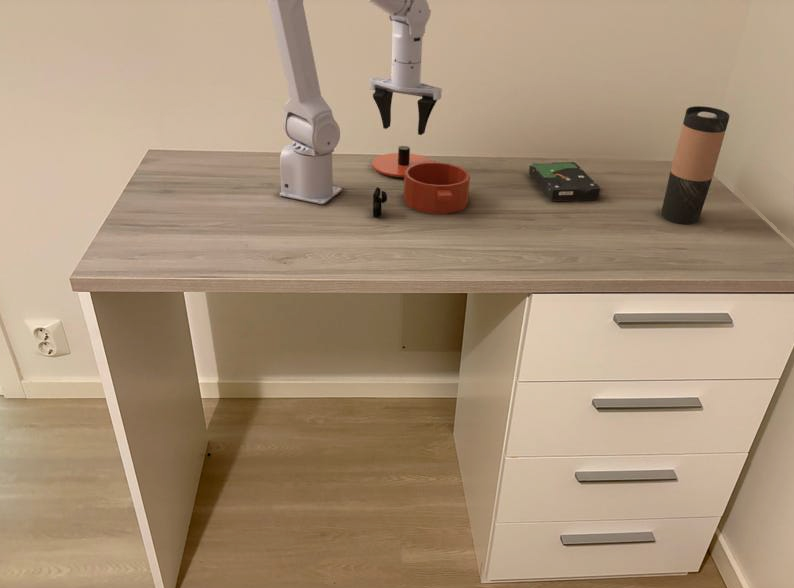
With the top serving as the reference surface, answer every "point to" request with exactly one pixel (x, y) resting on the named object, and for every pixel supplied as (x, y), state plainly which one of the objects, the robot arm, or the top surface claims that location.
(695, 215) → the travel mug
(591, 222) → the top surface
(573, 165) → the disk drive
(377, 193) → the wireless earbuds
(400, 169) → the lid
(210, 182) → the top surface
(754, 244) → the top surface
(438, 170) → the pan
